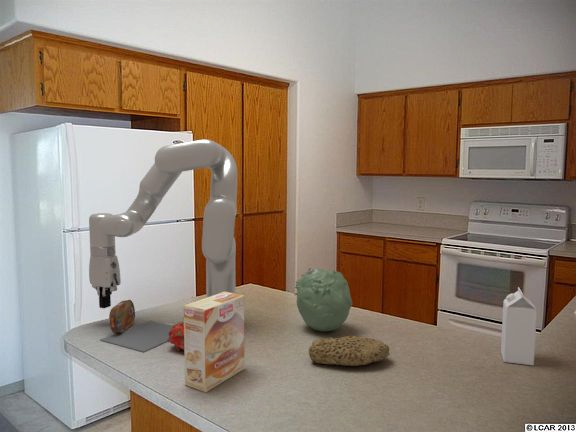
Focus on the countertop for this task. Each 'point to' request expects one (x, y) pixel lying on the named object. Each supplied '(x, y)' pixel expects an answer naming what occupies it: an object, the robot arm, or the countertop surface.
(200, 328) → the coffeecake box
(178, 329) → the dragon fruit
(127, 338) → the mat
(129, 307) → the tin
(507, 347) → the milk carton
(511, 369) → the countertop surface
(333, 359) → the sponge
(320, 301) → the cabbage
